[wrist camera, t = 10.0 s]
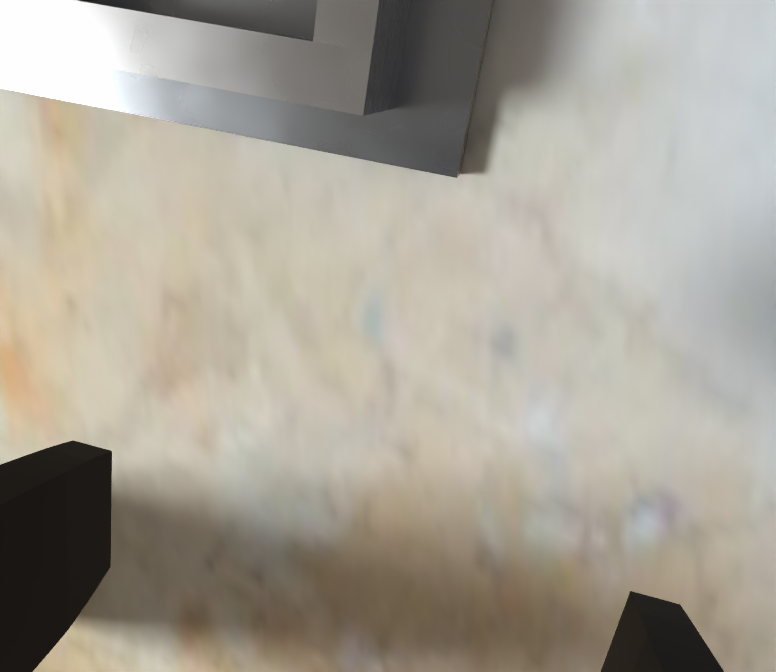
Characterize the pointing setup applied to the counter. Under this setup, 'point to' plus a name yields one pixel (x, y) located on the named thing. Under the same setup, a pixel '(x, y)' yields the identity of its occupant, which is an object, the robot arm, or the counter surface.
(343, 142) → the port
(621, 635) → the robot arm
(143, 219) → the counter surface
